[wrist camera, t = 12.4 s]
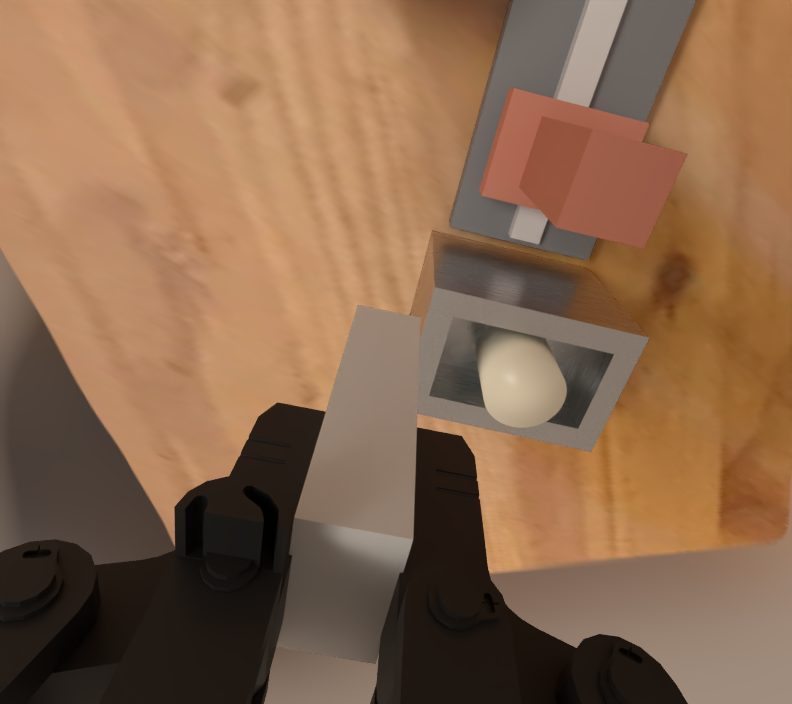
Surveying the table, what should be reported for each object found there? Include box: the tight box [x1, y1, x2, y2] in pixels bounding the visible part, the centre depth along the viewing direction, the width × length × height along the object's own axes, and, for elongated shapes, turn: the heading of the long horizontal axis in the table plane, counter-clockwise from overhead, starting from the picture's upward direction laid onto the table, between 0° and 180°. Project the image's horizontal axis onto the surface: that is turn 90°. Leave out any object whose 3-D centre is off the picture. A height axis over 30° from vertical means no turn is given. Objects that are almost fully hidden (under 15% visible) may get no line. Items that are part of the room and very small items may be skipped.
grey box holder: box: [410, 231, 649, 452], centre depth 35 cm, size 8×13×12 cm, turn 77°
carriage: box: [479, 88, 688, 249], centre depth 27 cm, size 6×8×12 cm
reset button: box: [475, 326, 567, 428], centre depth 30 cm, size 4×4×5 cm
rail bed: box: [449, 0, 696, 261], centre depth 31 cm, size 21×10×4 cm, turn 167°
